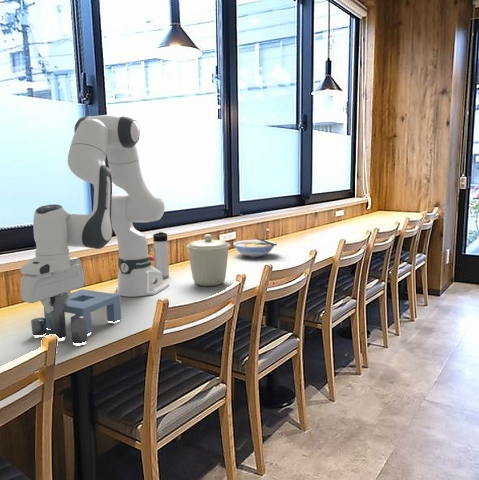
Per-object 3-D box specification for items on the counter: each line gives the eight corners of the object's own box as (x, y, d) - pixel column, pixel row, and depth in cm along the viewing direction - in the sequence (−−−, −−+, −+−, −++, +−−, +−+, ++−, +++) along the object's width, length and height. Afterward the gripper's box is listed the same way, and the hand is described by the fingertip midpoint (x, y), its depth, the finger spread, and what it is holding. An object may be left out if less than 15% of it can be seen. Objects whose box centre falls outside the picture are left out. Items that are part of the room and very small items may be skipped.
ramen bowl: (227, 253, 262) (227, 239, 261) (265, 251, 269) (265, 237, 267) (241, 262, 238) (241, 246, 237) (282, 259, 245) (282, 243, 244)
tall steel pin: (59, 336, 138) (56, 290, 136) (69, 338, 137) (66, 292, 134) (48, 341, 135) (45, 294, 133) (58, 343, 133) (55, 295, 131)
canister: (204, 276, 210) (202, 230, 207) (238, 281, 201) (237, 232, 197) (179, 285, 195) (177, 235, 191) (215, 291, 186) (213, 238, 182)
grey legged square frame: (83, 315, 158) (82, 289, 156) (121, 321, 151) (119, 294, 149) (45, 330, 144) (43, 302, 142) (84, 338, 137) (82, 308, 135)
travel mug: (169, 275, 213) (168, 232, 210) (168, 278, 206) (166, 234, 203) (156, 275, 213) (154, 232, 210) (153, 279, 206) (151, 234, 203)
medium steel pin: (80, 340, 135) (78, 313, 134) (90, 342, 133) (88, 315, 132) (69, 345, 131) (67, 317, 130) (79, 347, 130) (78, 319, 128)
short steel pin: (40, 332, 142) (39, 316, 141) (49, 334, 140) (48, 318, 139) (29, 337, 138) (28, 320, 138) (39, 339, 137) (37, 322, 136)
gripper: (72, 255, 143) (75, 298, 145) (14, 269, 125) (19, 318, 127) (88, 256, 140) (91, 301, 142) (31, 271, 122) (35, 321, 124)
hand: (56, 309), depth 134 cm, fingers closed on tall steel pin, 4 cm apart
